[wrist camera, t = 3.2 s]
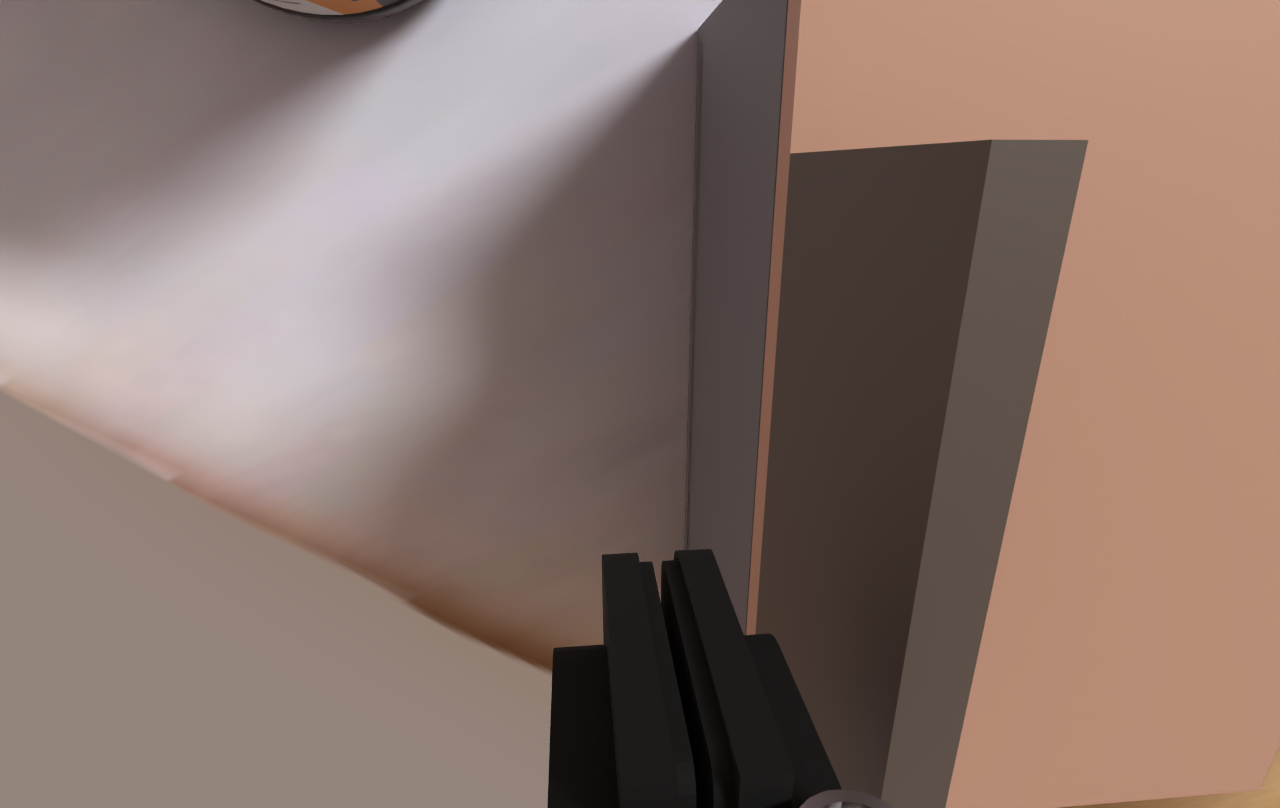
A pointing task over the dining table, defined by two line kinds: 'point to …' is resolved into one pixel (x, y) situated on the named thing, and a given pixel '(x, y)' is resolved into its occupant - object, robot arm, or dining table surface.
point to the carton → (731, 276)
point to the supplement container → (339, 9)
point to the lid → (1026, 397)
